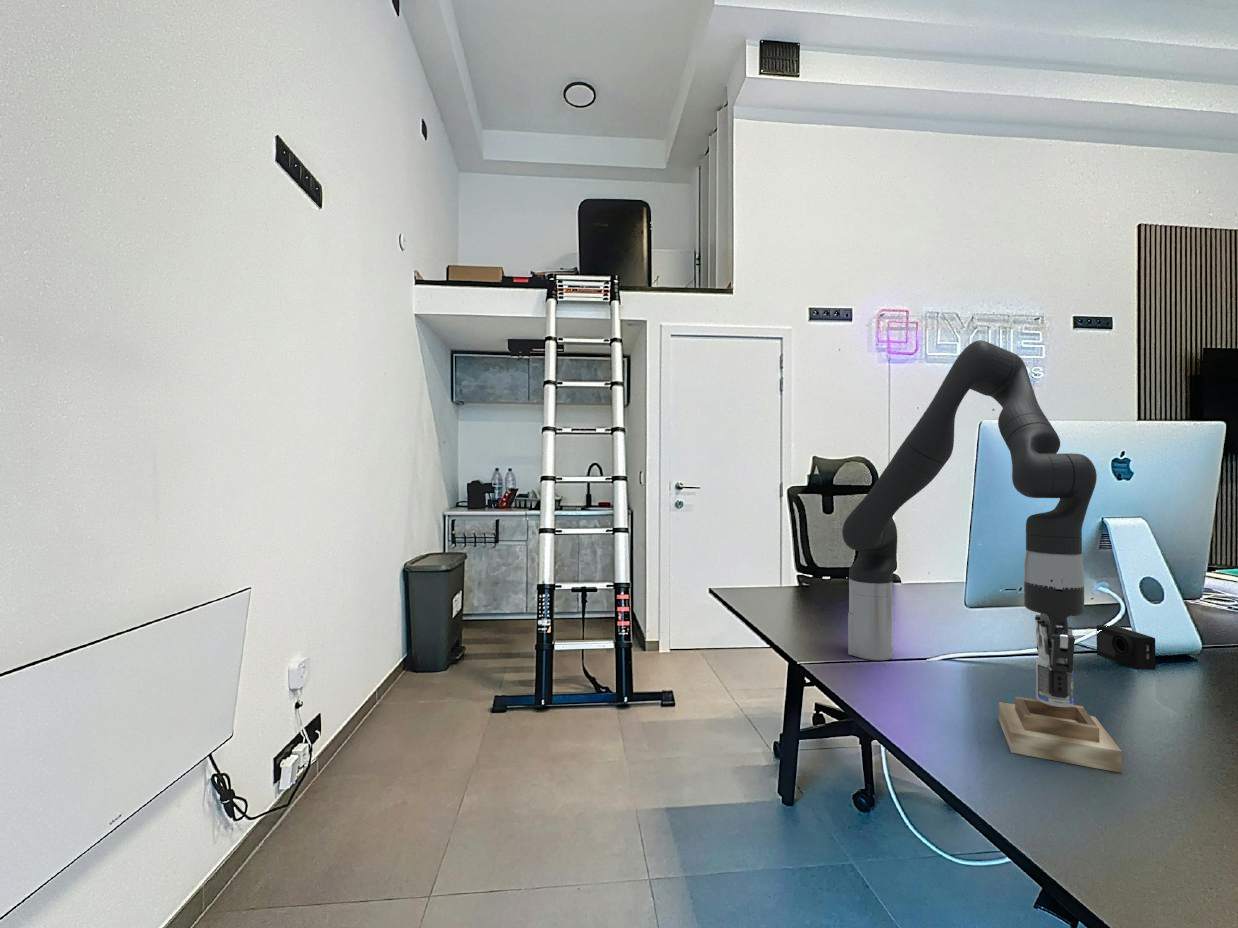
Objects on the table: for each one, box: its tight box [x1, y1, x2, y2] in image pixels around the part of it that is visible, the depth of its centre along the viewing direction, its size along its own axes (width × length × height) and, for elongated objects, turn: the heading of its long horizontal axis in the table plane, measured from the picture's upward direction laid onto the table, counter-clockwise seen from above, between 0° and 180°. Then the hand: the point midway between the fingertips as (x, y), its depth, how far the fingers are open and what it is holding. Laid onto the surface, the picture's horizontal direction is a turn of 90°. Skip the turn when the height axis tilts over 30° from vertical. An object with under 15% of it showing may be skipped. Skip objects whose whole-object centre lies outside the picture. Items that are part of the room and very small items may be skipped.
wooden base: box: [998, 696, 1123, 774], centre depth 90 cm, size 13×13×5 cm
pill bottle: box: [1034, 645, 1075, 707], centre depth 90 cm, size 5×5×8 cm
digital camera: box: [1096, 624, 1156, 671], centre depth 130 cm, size 10×5×7 cm, turn 0°
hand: (1053, 689), depth 90 cm, fingers closed on pill bottle, 4 cm apart
